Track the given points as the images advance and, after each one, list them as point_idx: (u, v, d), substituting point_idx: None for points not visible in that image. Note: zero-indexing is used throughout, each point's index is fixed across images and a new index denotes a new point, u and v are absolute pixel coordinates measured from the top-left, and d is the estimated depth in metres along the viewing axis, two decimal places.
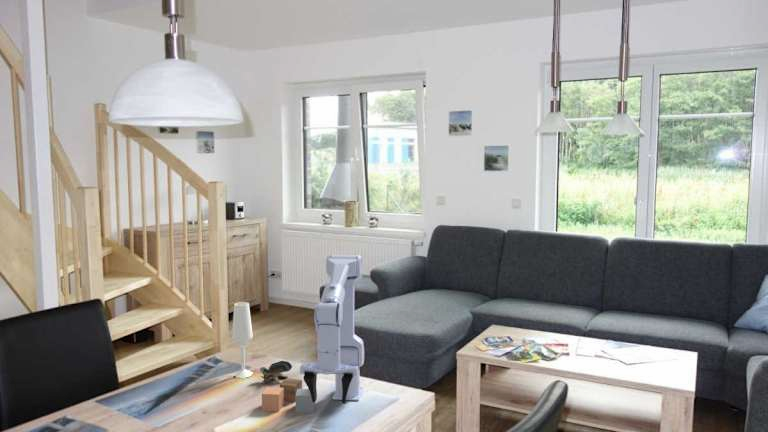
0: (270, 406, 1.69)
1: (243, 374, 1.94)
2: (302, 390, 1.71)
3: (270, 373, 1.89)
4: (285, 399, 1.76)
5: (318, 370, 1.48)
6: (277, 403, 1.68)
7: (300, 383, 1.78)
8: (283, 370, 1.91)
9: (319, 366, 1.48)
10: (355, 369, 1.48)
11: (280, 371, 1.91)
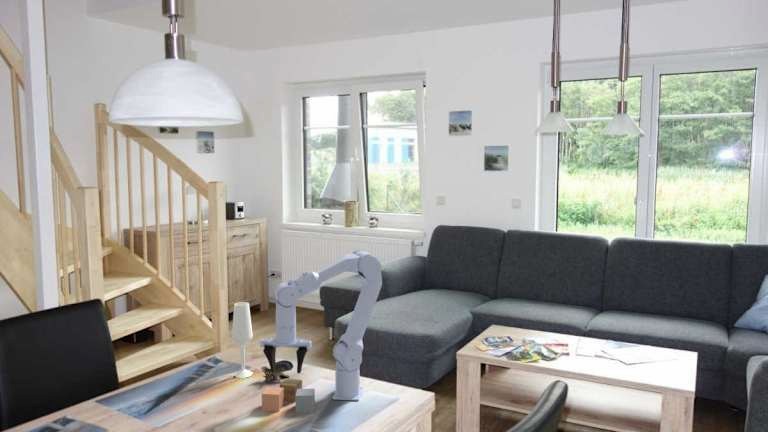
0: (270, 406, 1.69)
1: (243, 374, 1.94)
2: (302, 390, 1.71)
3: (272, 372, 1.90)
4: (285, 399, 1.76)
5: (276, 343, 1.68)
6: (277, 403, 1.68)
7: (300, 383, 1.78)
8: (285, 369, 1.92)
9: (277, 340, 1.69)
10: (308, 343, 1.69)
11: (282, 370, 1.92)
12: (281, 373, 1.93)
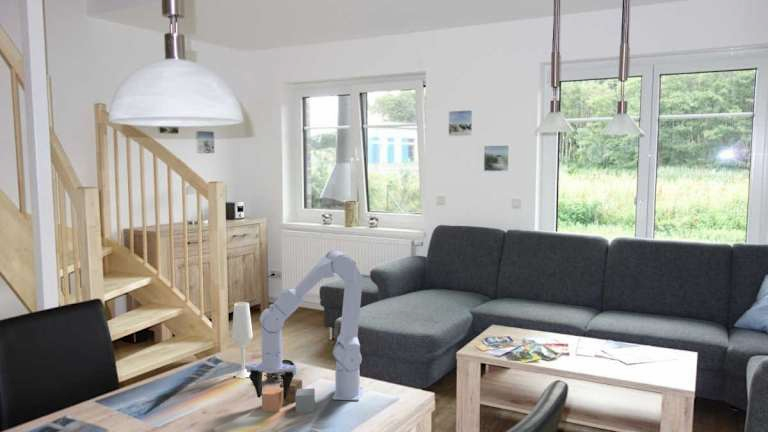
0: (270, 406, 1.69)
1: (243, 374, 1.94)
2: (302, 390, 1.71)
3: None
4: (285, 399, 1.76)
5: (262, 369, 1.68)
6: (277, 403, 1.68)
7: (300, 383, 1.78)
8: None
9: (263, 365, 1.68)
10: (295, 368, 1.68)
11: None
12: None
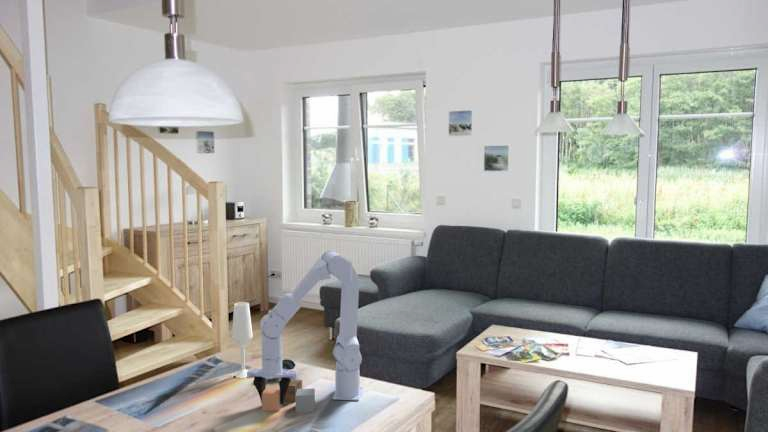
0: (270, 406, 1.69)
1: (243, 374, 1.94)
2: (302, 390, 1.71)
3: None
4: (285, 399, 1.76)
5: (262, 375, 1.68)
6: (277, 403, 1.68)
7: (300, 383, 1.78)
8: (286, 368, 1.93)
9: (263, 371, 1.68)
10: (295, 374, 1.69)
11: None
12: None
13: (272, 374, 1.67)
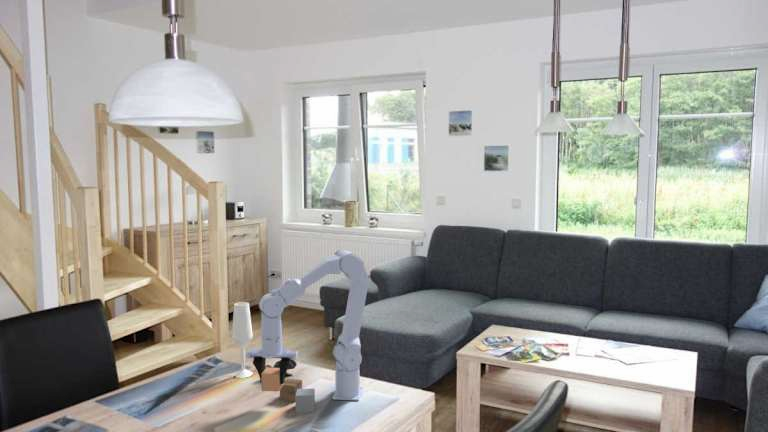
0: (270, 386, 1.68)
1: (243, 374, 1.94)
2: (302, 390, 1.71)
3: None
4: (285, 399, 1.76)
5: (262, 355, 1.67)
6: (277, 383, 1.68)
7: (300, 383, 1.78)
8: (288, 368, 1.93)
9: (263, 351, 1.68)
10: (294, 354, 1.68)
11: None
12: None
13: (272, 354, 1.67)
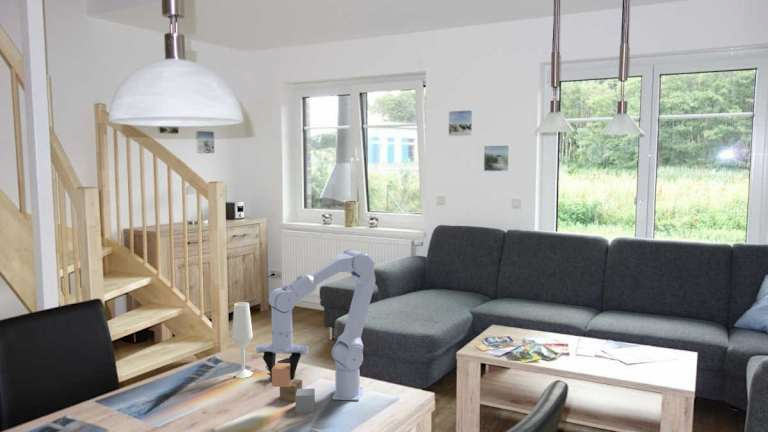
0: (280, 381, 1.66)
1: (243, 374, 1.94)
2: (302, 390, 1.71)
3: None
4: (285, 399, 1.76)
5: (272, 350, 1.65)
6: (287, 378, 1.66)
7: (300, 383, 1.78)
8: None
9: (273, 346, 1.66)
10: (305, 349, 1.66)
11: None
12: None
13: (282, 349, 1.65)
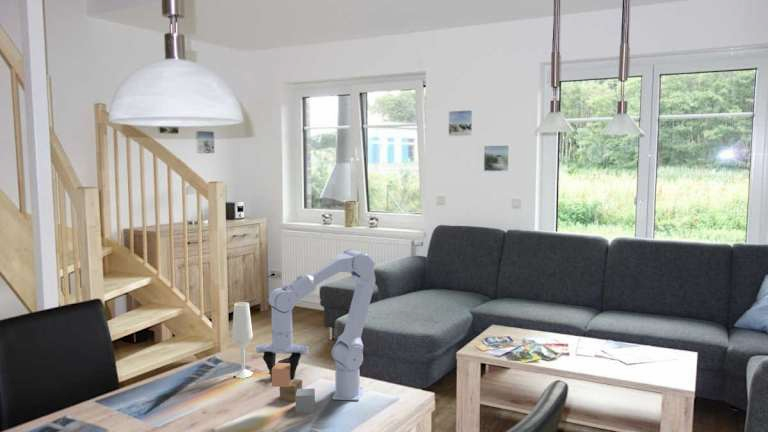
0: (280, 381, 1.66)
1: (243, 374, 1.94)
2: (302, 390, 1.71)
3: None
4: (285, 399, 1.76)
5: (272, 350, 1.65)
6: (287, 378, 1.66)
7: (300, 383, 1.78)
8: None
9: (273, 346, 1.66)
10: (305, 349, 1.66)
11: None
12: None
13: (282, 349, 1.65)
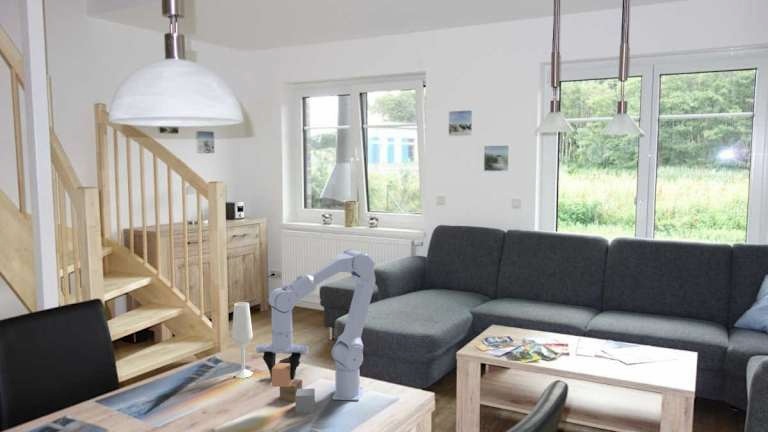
0: (280, 381, 1.66)
1: (243, 374, 1.94)
2: (302, 390, 1.71)
3: None
4: (285, 399, 1.76)
5: (272, 350, 1.65)
6: (287, 378, 1.66)
7: (300, 383, 1.78)
8: None
9: (273, 346, 1.66)
10: (305, 349, 1.66)
11: None
12: None
13: (282, 349, 1.65)
